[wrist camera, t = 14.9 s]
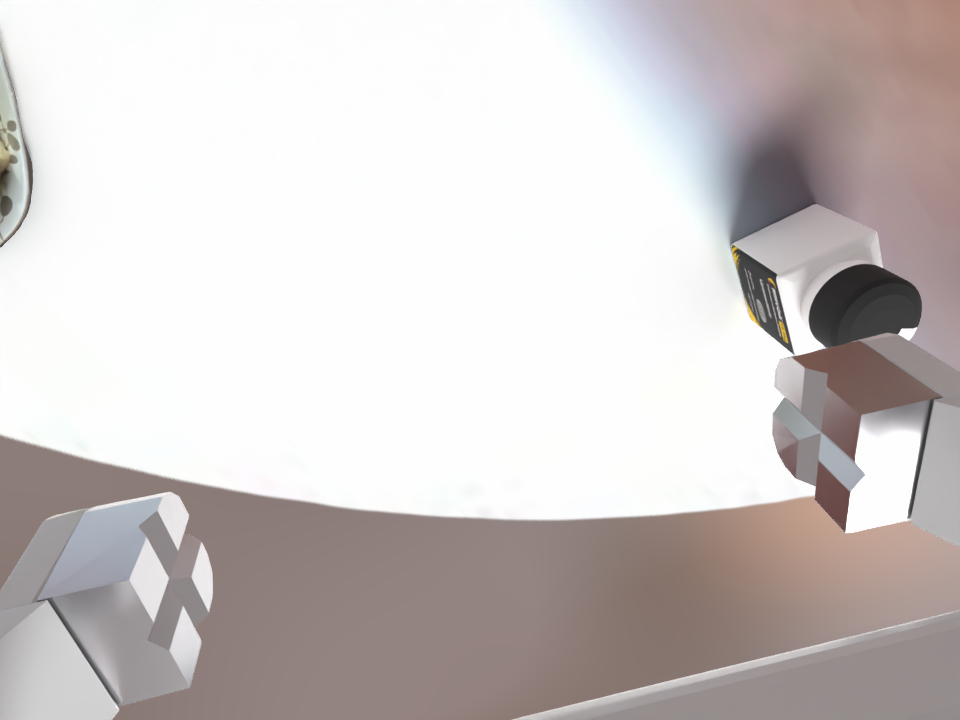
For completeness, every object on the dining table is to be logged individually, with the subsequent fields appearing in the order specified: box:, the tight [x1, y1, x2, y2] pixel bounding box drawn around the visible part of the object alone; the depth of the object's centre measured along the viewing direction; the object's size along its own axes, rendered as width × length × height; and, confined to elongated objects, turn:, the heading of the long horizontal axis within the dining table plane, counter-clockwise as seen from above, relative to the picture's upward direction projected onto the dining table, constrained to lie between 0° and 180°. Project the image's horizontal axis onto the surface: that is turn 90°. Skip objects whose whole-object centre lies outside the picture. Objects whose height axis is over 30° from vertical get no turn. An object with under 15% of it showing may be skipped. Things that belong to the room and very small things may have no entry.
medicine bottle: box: [731, 204, 922, 356], centre depth 48 cm, size 7×7×12 cm
